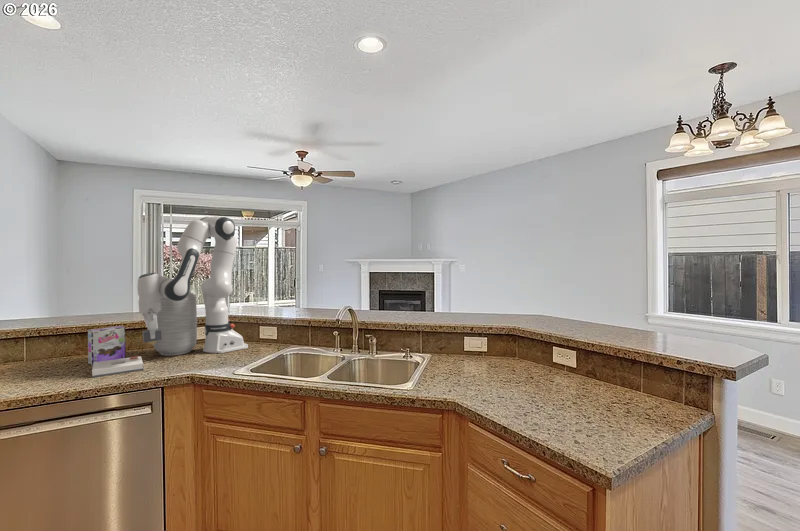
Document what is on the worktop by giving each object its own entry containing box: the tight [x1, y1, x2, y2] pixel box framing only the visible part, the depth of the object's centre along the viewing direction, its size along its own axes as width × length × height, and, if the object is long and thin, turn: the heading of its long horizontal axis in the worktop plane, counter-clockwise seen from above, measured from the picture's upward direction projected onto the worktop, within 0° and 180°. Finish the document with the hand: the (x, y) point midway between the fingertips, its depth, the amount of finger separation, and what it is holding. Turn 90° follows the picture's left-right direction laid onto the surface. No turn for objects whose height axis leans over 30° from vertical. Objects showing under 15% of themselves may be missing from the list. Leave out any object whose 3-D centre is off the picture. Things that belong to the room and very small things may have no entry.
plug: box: [142, 329, 162, 346], centre depth 186 cm, size 7×6×7 cm
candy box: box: [87, 325, 127, 367], centre depth 191 cm, size 14×6×16 cm, turn 143°
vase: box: [153, 290, 198, 357], centre depth 209 cm, size 20×20×34 cm
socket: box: [91, 355, 144, 379], centre depth 178 cm, size 18×16×4 cm
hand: (152, 337), depth 186 cm, fingers closed on plug, 5 cm apart
